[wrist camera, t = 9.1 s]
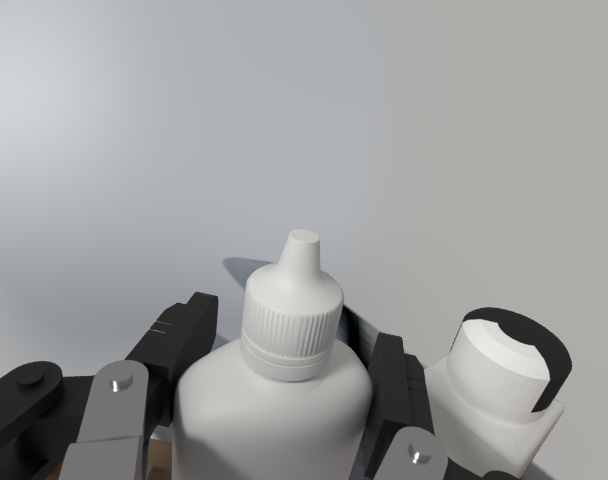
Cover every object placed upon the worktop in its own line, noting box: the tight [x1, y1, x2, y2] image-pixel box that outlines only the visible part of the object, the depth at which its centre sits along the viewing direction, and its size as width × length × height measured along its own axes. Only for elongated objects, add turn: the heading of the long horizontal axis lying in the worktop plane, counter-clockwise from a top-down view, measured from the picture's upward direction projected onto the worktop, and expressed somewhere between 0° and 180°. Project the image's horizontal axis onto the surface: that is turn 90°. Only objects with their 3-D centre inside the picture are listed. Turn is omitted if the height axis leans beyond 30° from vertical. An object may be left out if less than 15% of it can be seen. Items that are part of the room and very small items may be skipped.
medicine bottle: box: [424, 307, 572, 479], centre depth 26 cm, size 7×7×12 cm
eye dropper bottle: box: [172, 229, 374, 480], centre depth 12 cm, size 4×6×12 cm
